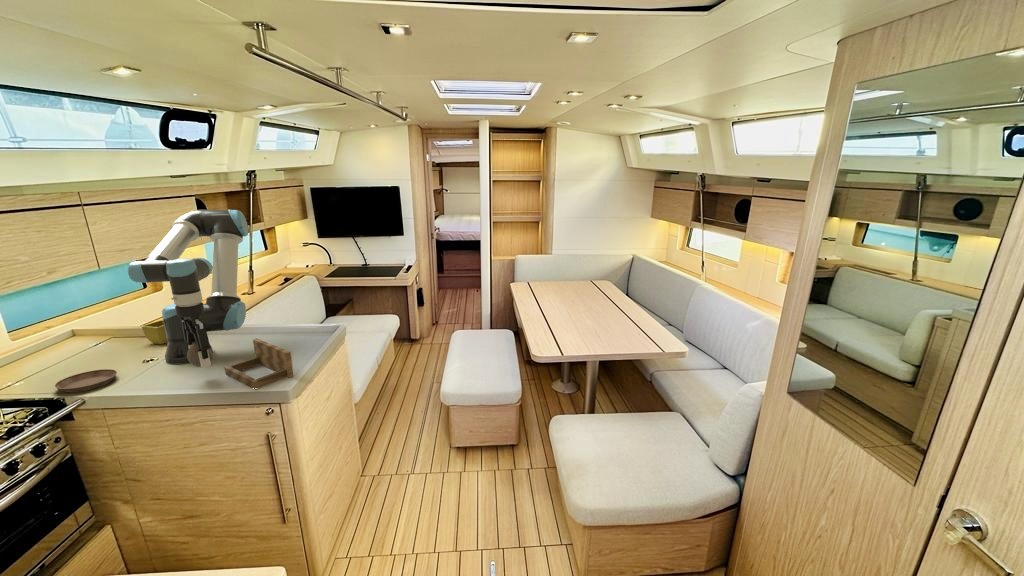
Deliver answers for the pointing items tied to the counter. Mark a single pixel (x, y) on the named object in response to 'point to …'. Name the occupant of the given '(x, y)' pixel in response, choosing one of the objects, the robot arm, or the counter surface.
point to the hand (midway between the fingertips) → (201, 363)
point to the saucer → (86, 380)
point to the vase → (196, 355)
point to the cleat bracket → (267, 357)
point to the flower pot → (155, 332)
